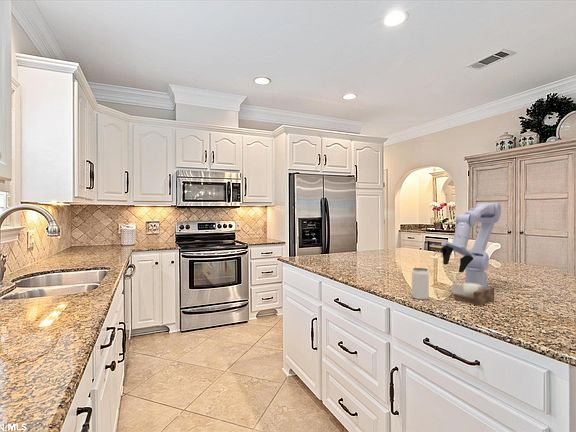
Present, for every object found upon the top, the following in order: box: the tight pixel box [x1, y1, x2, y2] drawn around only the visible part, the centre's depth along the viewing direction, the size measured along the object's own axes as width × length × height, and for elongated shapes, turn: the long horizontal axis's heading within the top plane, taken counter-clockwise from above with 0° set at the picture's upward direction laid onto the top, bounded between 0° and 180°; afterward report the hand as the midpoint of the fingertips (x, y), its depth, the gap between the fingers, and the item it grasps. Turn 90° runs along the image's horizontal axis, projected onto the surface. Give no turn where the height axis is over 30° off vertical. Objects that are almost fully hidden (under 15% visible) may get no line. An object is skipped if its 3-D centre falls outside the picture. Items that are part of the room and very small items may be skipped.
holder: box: [454, 286, 495, 307], centre depth 133 cm, size 14×10×5 cm
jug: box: [451, 281, 483, 298], centre depth 135 cm, size 11×6×6 cm, turn 36°
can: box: [411, 267, 430, 301], centre depth 136 cm, size 6×6×12 cm
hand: (453, 268), depth 138 cm, fingers open, 7 cm apart
